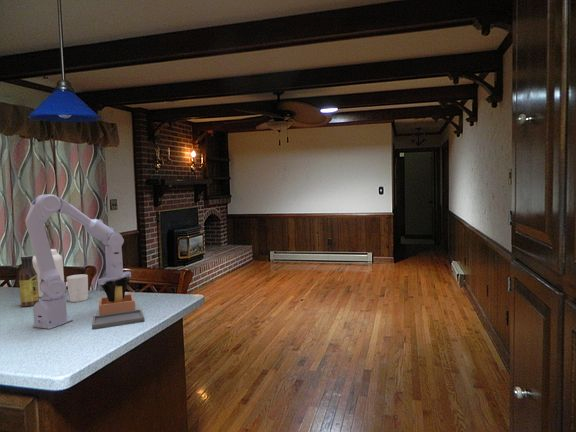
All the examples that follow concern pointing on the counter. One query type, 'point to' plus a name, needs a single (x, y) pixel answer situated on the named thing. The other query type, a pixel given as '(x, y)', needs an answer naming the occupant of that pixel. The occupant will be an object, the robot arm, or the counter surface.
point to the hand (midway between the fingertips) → (116, 299)
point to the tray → (117, 319)
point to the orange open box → (116, 305)
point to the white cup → (78, 287)
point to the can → (58, 264)
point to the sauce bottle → (28, 282)
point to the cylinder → (118, 294)
